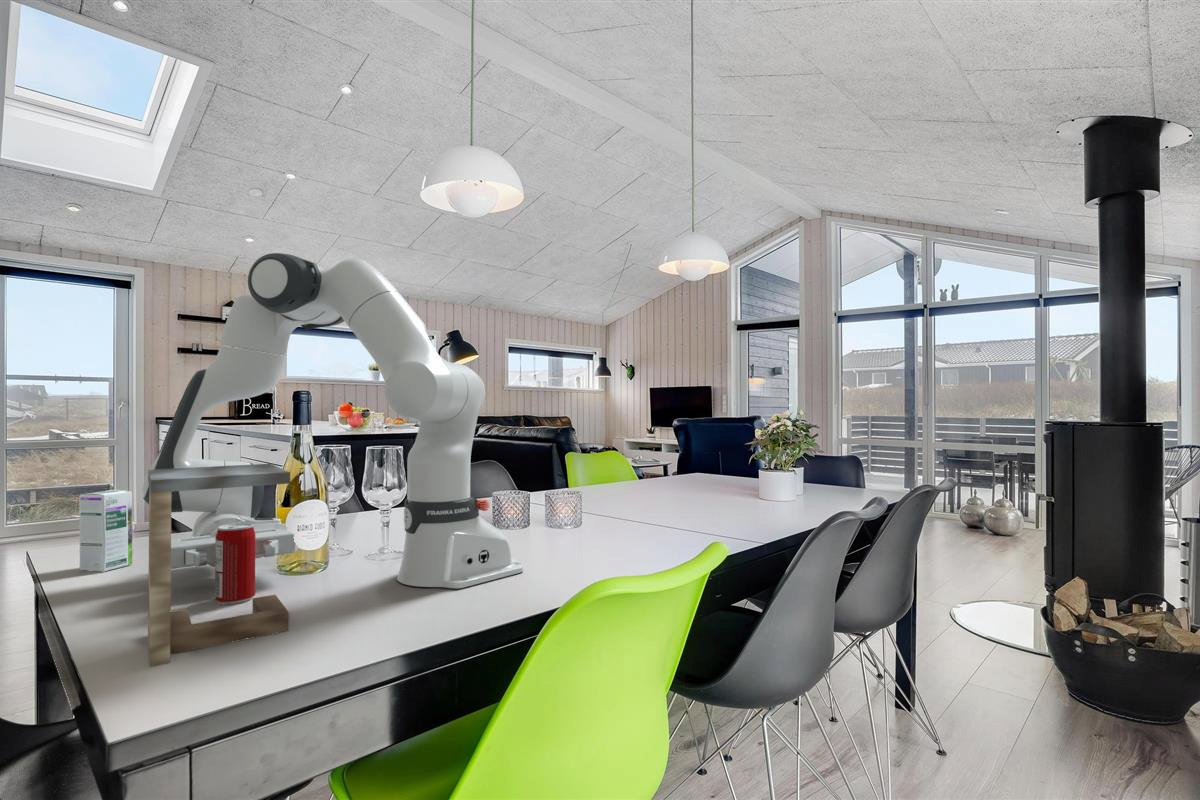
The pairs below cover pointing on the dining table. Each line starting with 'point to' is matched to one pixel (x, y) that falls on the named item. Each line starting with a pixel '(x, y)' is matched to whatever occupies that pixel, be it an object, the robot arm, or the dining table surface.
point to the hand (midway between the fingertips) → (236, 556)
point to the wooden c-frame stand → (160, 533)
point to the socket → (228, 626)
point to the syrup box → (105, 530)
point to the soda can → (235, 563)
